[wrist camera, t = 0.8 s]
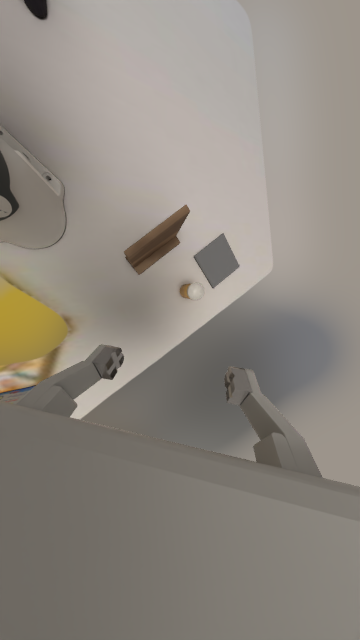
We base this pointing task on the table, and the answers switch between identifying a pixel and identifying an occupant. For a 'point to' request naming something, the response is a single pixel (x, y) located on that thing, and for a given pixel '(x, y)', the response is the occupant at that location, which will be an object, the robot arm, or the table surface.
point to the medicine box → (15, 395)
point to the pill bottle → (192, 291)
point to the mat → (217, 261)
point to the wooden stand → (156, 242)
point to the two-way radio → (37, 7)
